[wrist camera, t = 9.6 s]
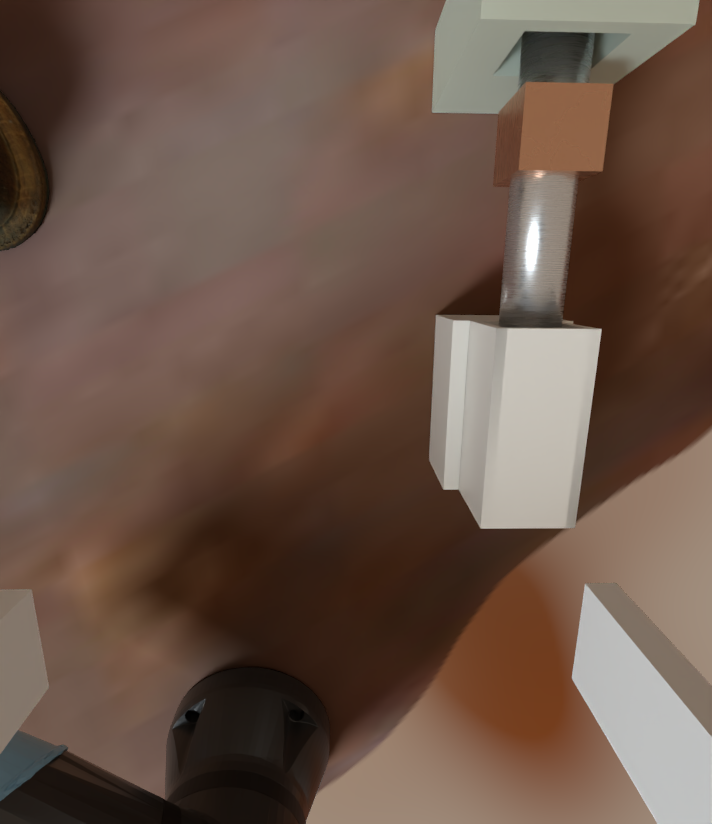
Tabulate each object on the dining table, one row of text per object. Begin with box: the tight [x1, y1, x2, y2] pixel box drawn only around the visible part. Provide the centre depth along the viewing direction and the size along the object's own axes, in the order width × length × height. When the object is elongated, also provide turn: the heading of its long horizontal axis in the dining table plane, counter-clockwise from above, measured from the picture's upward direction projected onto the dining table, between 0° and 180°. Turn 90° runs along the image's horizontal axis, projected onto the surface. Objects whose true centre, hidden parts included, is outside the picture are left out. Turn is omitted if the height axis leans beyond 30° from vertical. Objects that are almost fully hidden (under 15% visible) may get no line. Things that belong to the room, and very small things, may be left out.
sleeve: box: [429, 315, 602, 529], centre depth 34 cm, size 12×8×12 cm, turn 179°
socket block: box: [432, 0, 699, 114], centre depth 28 cm, size 5×10×13 cm, turn 90°
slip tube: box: [493, 31, 613, 328], centre depth 28 cm, size 19×4×4 cm, turn 0°
